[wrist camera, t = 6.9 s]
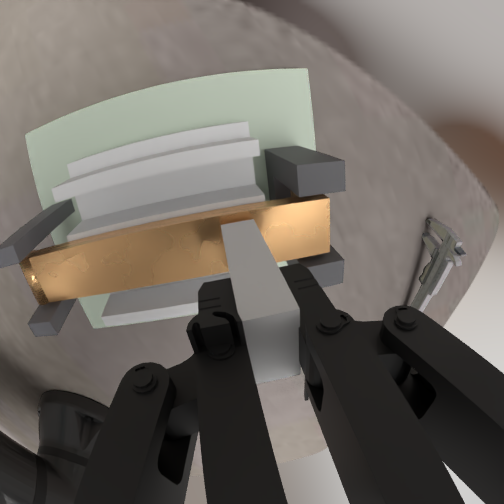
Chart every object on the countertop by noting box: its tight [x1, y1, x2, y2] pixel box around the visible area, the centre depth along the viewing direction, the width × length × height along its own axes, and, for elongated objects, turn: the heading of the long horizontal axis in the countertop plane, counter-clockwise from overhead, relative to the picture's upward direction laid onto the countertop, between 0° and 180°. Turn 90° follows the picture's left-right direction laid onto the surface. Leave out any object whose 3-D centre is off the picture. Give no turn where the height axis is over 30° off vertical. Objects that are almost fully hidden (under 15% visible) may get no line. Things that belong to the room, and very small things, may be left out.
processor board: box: [0, 69, 346, 337], centre depth 16 cm, size 21×18×10 cm
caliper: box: [410, 219, 467, 312], centre depth 27 cm, size 20×1×6 cm, turn 0°
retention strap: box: [19, 190, 330, 305], centre depth 15 cm, size 18×3×4 cm, turn 97°
